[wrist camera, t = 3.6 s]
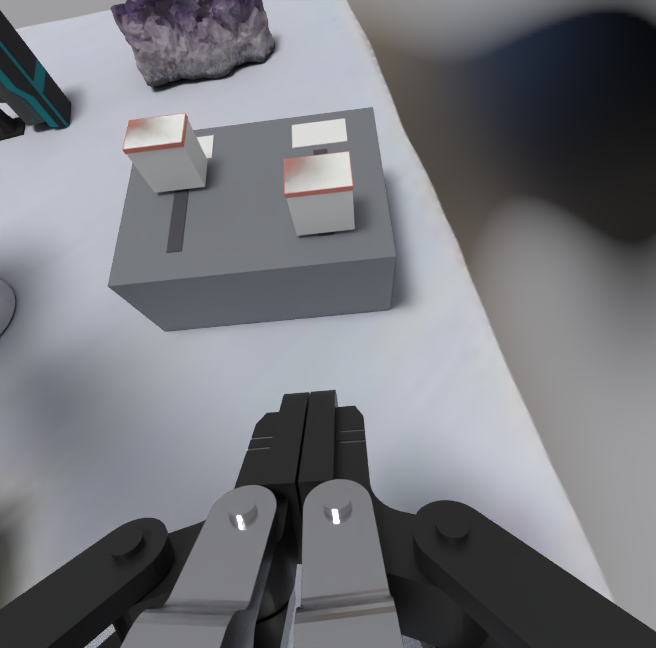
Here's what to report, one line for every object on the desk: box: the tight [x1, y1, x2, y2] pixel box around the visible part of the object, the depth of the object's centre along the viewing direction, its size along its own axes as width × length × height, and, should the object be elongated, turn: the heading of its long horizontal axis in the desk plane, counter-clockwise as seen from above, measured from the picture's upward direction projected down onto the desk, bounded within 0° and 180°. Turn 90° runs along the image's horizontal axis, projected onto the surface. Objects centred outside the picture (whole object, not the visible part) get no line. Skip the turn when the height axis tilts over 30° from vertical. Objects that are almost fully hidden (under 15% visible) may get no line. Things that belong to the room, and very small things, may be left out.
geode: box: [111, 0, 275, 87], centre depth 51 cm, size 20×12×10 cm, turn 99°
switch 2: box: [284, 151, 355, 236], centre depth 27 cm, size 3×4×4 cm
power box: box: [108, 107, 396, 331], centre depth 36 cm, size 16×22×9 cm
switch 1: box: [122, 113, 208, 193], centre depth 31 cm, size 3×4×4 cm
